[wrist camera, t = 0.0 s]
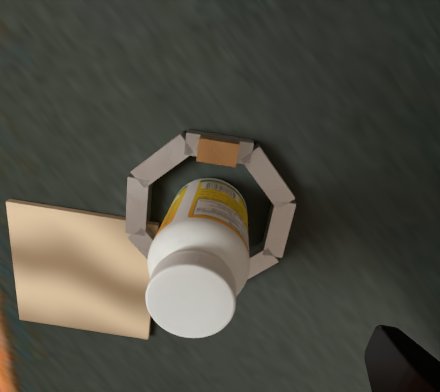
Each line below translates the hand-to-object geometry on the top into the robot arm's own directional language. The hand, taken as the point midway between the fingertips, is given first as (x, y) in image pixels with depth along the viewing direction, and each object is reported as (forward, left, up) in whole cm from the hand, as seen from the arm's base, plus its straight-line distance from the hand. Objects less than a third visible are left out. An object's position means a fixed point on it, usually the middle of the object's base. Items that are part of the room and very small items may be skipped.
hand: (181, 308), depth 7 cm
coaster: (-11, +9, -15) cm, 21 cm away
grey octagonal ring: (-4, 0, -15) cm, 15 cm away
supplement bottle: (-4, 0, -15) cm, 16 cm away
